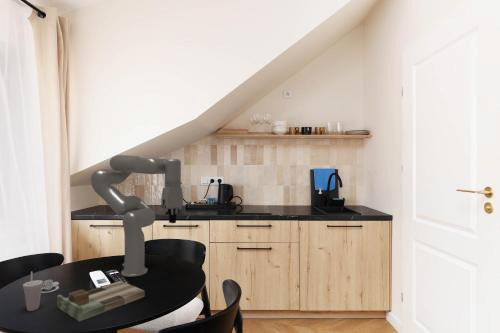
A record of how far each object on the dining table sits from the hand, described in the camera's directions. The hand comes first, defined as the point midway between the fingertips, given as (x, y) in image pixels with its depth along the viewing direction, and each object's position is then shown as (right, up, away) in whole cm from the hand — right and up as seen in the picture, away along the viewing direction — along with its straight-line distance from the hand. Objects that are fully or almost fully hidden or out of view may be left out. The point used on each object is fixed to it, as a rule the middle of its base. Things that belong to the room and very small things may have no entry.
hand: (172, 222), depth 148 cm
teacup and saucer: (-48, -28, -12) cm, 57 cm away
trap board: (-21, -27, -25) cm, 43 cm away
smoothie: (-45, -27, -32) cm, 61 cm away
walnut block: (-27, -24, -33) cm, 49 cm away
